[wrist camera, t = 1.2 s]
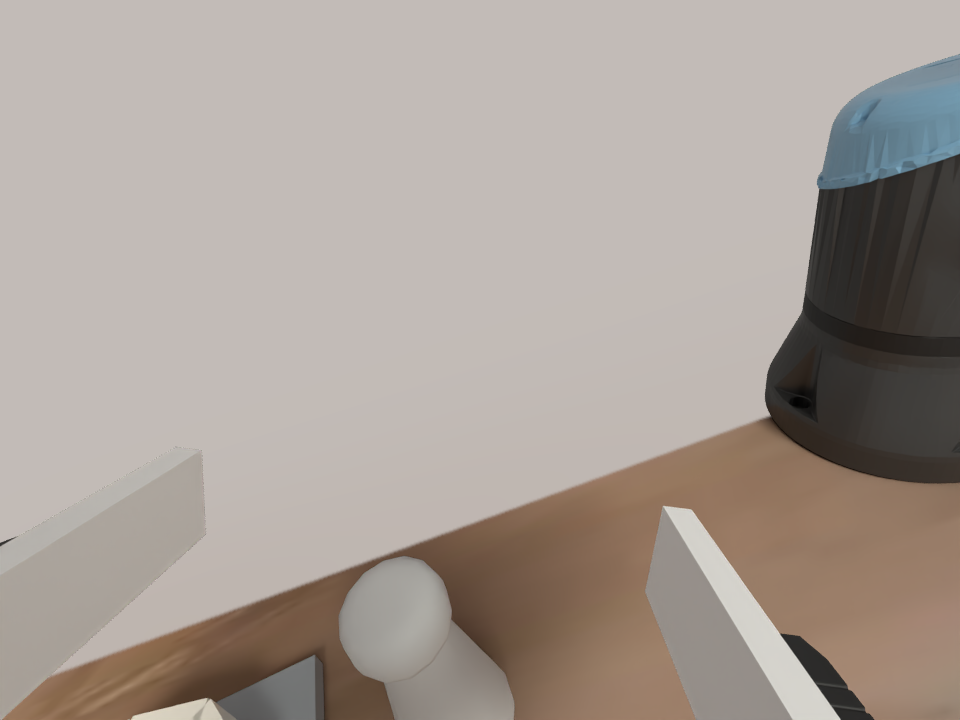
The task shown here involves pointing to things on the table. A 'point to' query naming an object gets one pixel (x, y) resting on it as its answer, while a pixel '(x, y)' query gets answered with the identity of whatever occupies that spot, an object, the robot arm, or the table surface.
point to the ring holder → (189, 712)
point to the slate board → (282, 695)
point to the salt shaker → (419, 647)
